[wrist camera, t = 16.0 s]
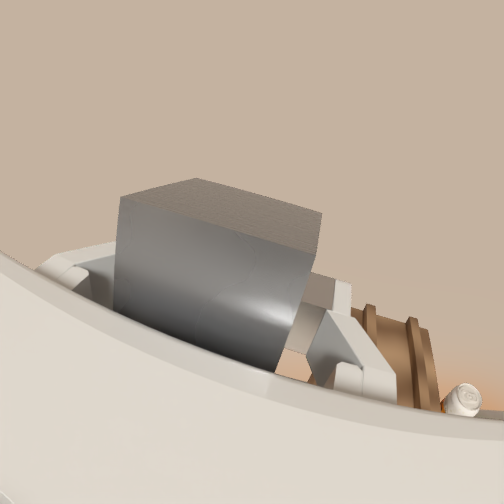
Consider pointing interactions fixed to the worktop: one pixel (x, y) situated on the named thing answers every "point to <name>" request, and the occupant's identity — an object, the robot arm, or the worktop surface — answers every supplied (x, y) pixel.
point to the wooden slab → (403, 357)
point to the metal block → (214, 267)
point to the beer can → (462, 401)
